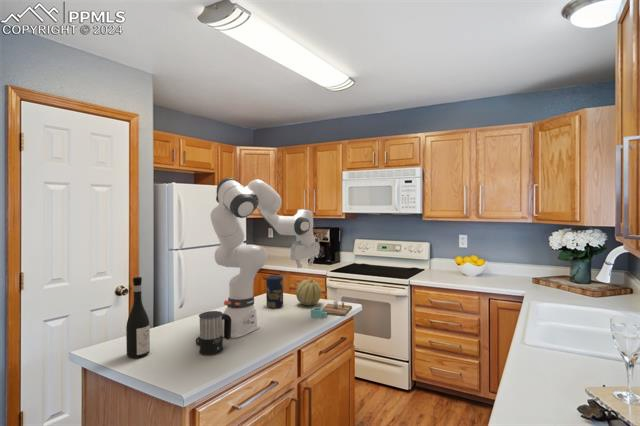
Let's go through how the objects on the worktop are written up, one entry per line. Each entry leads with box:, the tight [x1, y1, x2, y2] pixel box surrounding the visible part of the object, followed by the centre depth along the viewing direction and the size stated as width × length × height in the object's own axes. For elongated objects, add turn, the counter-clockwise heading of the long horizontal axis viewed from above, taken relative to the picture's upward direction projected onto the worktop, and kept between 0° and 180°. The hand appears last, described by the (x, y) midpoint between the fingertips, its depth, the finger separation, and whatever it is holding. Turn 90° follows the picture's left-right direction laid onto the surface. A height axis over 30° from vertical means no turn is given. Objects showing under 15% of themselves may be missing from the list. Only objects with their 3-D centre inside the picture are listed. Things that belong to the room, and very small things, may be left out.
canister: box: [265, 274, 284, 309], centre depth 210 cm, size 10×10×18 cm
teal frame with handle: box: [310, 307, 328, 319], centre depth 191 cm, size 8×5×4 cm
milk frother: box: [195, 310, 232, 356], centre depth 150 cm, size 14×16×15 cm
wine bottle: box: [125, 276, 151, 359], centre depth 143 cm, size 8×8×30 cm
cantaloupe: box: [295, 278, 322, 307], centre depth 213 cm, size 15×15×15 cm
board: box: [322, 300, 353, 317], centre depth 201 cm, size 16×14×5 cm
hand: (305, 266), depth 194 cm, fingers open, 8 cm apart
